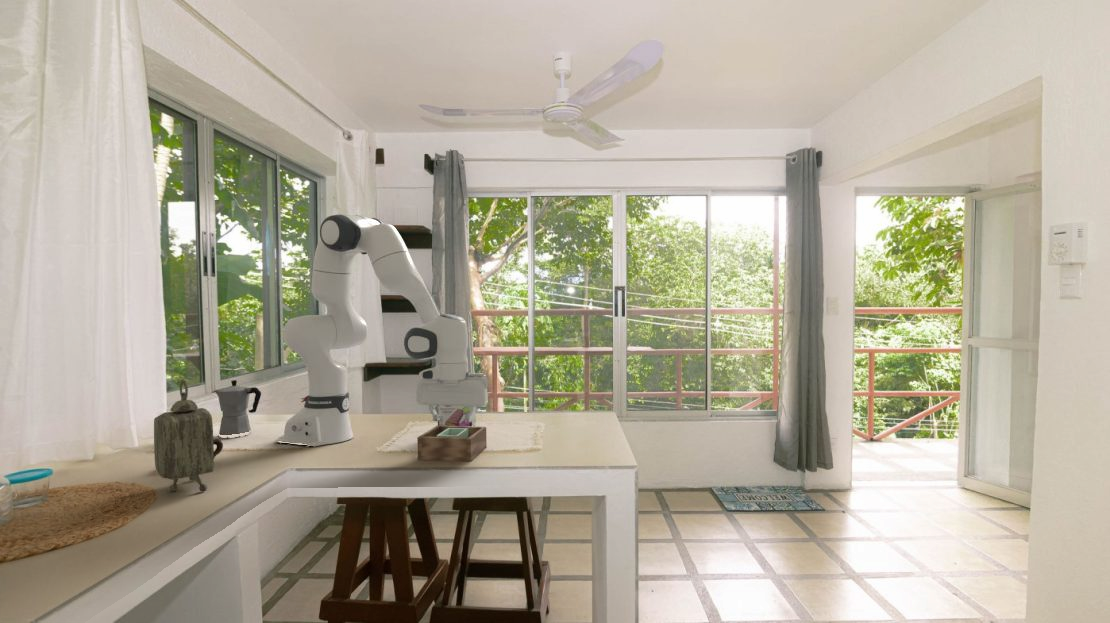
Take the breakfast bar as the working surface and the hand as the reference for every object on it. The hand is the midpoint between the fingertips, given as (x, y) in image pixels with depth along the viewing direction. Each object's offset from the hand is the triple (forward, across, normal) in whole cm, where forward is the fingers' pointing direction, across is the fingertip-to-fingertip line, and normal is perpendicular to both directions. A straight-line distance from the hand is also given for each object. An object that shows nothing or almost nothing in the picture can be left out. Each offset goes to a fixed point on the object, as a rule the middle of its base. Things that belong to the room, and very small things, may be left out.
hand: (452, 421), depth 149 cm
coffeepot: (+11, +77, -11) cm, 78 cm away
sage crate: (+8, 0, 0) cm, 8 cm away
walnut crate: (+9, 0, 0) cm, 9 cm away
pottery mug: (+10, +64, +19) cm, 67 cm away
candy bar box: (+9, +5, -18) cm, 21 cm away
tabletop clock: (+10, +51, +36) cm, 63 cm away
